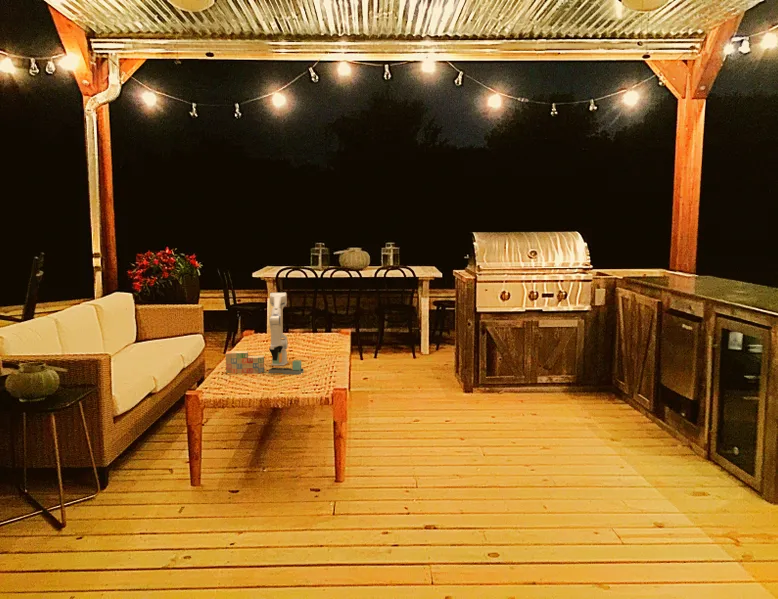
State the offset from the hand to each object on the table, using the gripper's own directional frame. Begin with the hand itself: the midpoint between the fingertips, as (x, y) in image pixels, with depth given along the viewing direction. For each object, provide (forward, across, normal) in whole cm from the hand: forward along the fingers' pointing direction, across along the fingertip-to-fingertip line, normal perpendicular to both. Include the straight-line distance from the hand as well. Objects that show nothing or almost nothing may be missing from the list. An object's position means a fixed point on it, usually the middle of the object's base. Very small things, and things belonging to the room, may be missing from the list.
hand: (276, 359), depth 372 cm
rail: (+8, 0, -6) cm, 10 cm away
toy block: (+2, 0, 0) cm, 2 cm away
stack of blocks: (+8, -2, +18) cm, 20 cm away
